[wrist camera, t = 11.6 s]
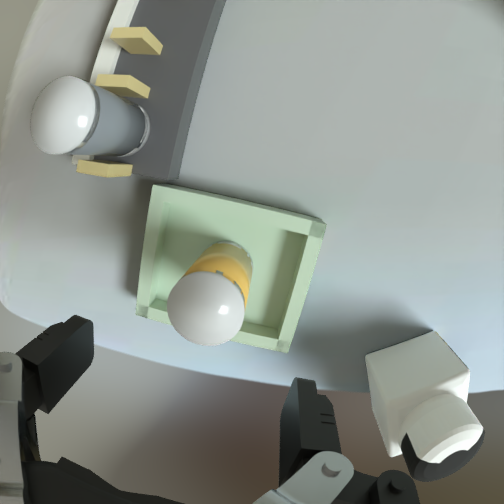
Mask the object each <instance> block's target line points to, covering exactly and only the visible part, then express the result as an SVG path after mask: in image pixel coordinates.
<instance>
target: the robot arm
mask: <svg viewBox="0 0 504 504" xmlns="http://www.w3.org/2000/svg"><path fill="white" fill-rule="evenodd" d="M93 357H94V337H93V322H92V321H91V320H88V319H85V318H83V317H80V316H77V315H74V316H72V317H71V318H70V319H68V320H67V321H66V322H64V323H63V322H60V323H57V324H54V325H52V326H50V327H49V328H47V329H46V330H45V331H43V333H41V334H40V335H38V336H37V338H34V339H33V340H32V341H31V342H29V343H28V344H27V345H26V346H24V347H23V348H22V349H21V350H20V351H18V352H17V353H16V354H14V353H11V352H0V504H184V503H180V502H176V501H173V500H169V499H165V498H162V497H159V496H153V495H145V494H138V493H130V492H125V491H121V490H118V489H116V488H115V487H113V486H112V485H110V484H109V483H107V482H106V481H104V480H103V479H102V478H100V477H99V476H98V475H96V474H95V473H93V472H92V471H91V470H89V469H86V468H84V467H82V466H80V465H78V464H76V463H74V462H72V461H70V460H68V459H66V458H64V457H61V458H60V460H59V461H58V463H53V462H47V461H41V458H40V453H39V445H38V437H37V428H36V417H35V411H36V410H37V409H40V410H42V411H43V412H45V413H47V414H49V413H50V411H51V410H52V409H53V408H54V407H55V405H56V404H57V403H58V402H59V401H60V399H61V398H62V397H63V396H64V395H65V394H66V393H67V391H68V390H69V389H70V388H71V387H72V386H73V385H74V383H75V382H76V381H77V380H78V379H79V378H80V377H81V376H82V374H83V373H84V372H85V371H86V370H87V369H88V367H89V366H90V365H91V363H92V360H93ZM279 454H280V455H279V488H278V489H277V490H274V489H272V490H270V491H269V492H267V493H266V494H264V495H263V496H262V497H261V498H259V499H258V500H257V501H255V502H254V503H253V504H420V502H419V498H418V494H417V490H416V486H415V483H414V481H413V480H412V479H411V477H410V476H408V475H407V474H406V473H404V472H401V471H398V470H388V471H385V472H383V473H382V474H381V475H380V476H379V477H374V476H370V475H367V474H363V473H360V472H357V471H355V470H354V469H353V465H352V464H351V462H350V461H349V460H348V459H347V458H346V457H345V456H343V455H342V453H341V447H340V442H339V437H338V431H337V427H336V421H335V417H334V410H333V405H332V404H331V402H330V401H329V399H328V398H327V397H326V395H319V394H317V389H316V383H315V381H314V380H308V379H302V378H297V377H295V378H294V380H293V382H292V385H291V388H290V390H289V393H288V396H287V398H286V401H285V403H284V406H283V409H282V413H281V418H280V453H279Z"/></svg>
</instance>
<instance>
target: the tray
mask: <svg viewBox="0 0 504 504" xmlns="http://www.w3.org/2000/svg"><path fill="white" fill-rule="evenodd" d="M326 225H327V224H326V223H325V222H324V221H322V220H321V219H318V218H315V217H311V216H307V215H303V214H299V213H295V212H291V211H287V210H283V209H279V208H275V207H270V206H266V205H262V204H258V203H254V202H249V201H245V200H241V199H236V198H232V197H227V196H223V195H218V194H214V193H209V192H205V191H200V190H195V189H190V188H186V187H181V186H176V185H171V184H166V183H162V184H154V185H153V187H152V192H151V198H150V204H149V210H148V216H147V222H146V229H145V235H144V243H143V250H142V258H141V266H140V274H139V284H138V293H137V304H136V315H138V316H142V317H145V318H148V319H152V320H155V321H158V322H162V323H165V324H169V325H172V324H171V322H170V320H169V317H168V313H167V300H168V296H169V294H170V292H171V290H172V288H173V287H174V286H175V285H176V283H177V282H178V281H179V280H180V279H181V277H182V276H183V275H184V274H185V273H186V272H187V270H188V269H189V268H190V267H191V266H192V264H193V263H194V262H195V261H196V260H197V259H198V257H199V256H200V255H201V254H202V253H203V252H204V250H205V249H206V248H207V247H208V246H210V245H211V244H213V243H215V242H217V241H223V240H228V241H233V242H236V243H238V244H240V245H242V246H243V247H244V248H245V249H246V250H247V251H248V252H249V254H250V256H251V258H252V261H253V274H252V279H251V284H250V289H249V294H248V299H247V304H246V309H245V314H244V319H243V323H242V326H241V328H240V330H239V331H238V333H237V334H236V335H235V336H234V337H233V338H232V339H230V341H234V342H238V343H242V344H247V345H251V346H256V347H260V348H265V349H270V350H274V351H279V352H284V353H288V351H289V348H290V345H291V342H292V339H293V336H294V333H295V330H296V327H297V324H298V320H299V317H300V314H301V311H302V308H303V305H304V301H305V298H306V295H307V292H308V288H309V285H310V282H311V278H312V275H313V272H314V268H315V265H316V261H317V258H318V254H319V251H320V247H321V244H322V240H323V236H324V233H325V229H326ZM172 326H173V325H172Z"/></svg>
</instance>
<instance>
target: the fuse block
mask: <svg viewBox="0 0 504 504" xmlns="http://www.w3.org/2000/svg"><path fill="white" fill-rule="evenodd" d="M225 2H226V0H118V2H117V4H116V7H115V9H114V11H113V14H112V16H111V19H110V22H109V24H108V27H107V29H106V32H105V35H104V38H103V41H102V43H101V46H100V49H99V52H98V55H97V58H96V62H95V65H94V68H93V71H92V75H91V78H90V82H89V83H91V84H93V85H96V86H98V87H100V88H103V89H105V90H107V91H110V92H112V93H114V94H117V95H119V96H121V97H123V98H125V99H128V100H130V101H132V102H134V103H136V104H139V105H140V106H142V107H143V108H144V109H145V110H146V111H147V113H148V115H149V118H150V122H151V130H150V134H149V137H148V140H147V142H146V143H145V145H144V146H143V147H142V148H141V149H140V150H139V151H138V152H137V153H135V154H133V155H131V156H127V157H113V156H95V155H73V158H72V164H76V165H77V171H76V172H79V173H85V174H90V175H96V176H102V177H122V176H131V173H133V174H138V175H144V176H149V177H154V178H160V179H165V180H174V179H178V177H179V172H180V167H181V163H182V158H183V153H184V149H185V144H186V140H187V136H188V131H189V127H190V123H191V119H192V115H193V111H194V107H195V103H196V99H197V95H198V91H199V88H200V84H201V80H202V77H203V73H204V69H205V66H206V62H207V59H208V56H209V52H210V49H211V45H212V42H213V39H214V36H215V32H216V29H217V26H218V23H219V20H220V17H221V14H222V11H223V8H224V5H225Z"/></svg>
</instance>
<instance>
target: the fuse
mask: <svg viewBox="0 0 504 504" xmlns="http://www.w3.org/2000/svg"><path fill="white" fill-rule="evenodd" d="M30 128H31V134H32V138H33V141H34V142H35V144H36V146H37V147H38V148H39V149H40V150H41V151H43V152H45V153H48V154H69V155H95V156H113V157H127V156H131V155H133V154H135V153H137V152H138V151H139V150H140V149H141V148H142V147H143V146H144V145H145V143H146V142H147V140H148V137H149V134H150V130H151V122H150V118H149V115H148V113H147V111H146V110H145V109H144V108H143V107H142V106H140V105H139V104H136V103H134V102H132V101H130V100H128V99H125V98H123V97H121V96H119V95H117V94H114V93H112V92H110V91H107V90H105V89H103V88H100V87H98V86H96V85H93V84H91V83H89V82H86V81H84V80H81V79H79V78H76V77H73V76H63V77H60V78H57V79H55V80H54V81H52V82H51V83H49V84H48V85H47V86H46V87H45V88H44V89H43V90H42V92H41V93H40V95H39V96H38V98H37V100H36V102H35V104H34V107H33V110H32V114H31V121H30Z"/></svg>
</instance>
